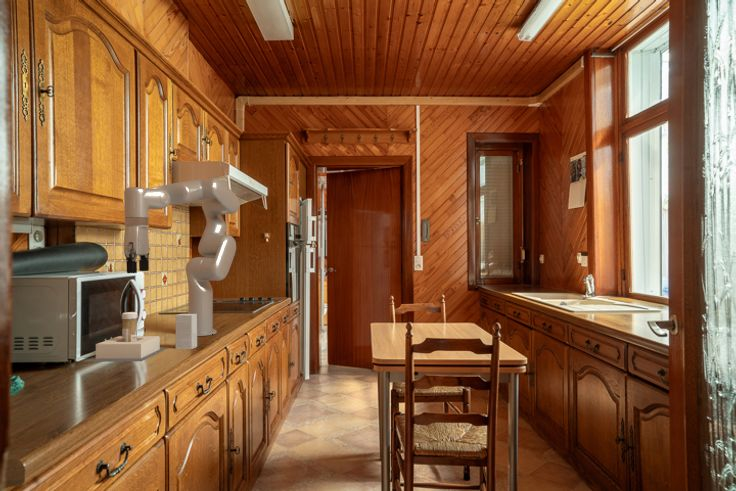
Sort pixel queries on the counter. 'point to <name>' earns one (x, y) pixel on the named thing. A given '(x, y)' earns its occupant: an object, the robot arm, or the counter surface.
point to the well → (127, 348)
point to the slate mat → (125, 358)
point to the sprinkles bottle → (129, 327)
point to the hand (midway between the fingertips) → (138, 272)
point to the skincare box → (186, 331)
